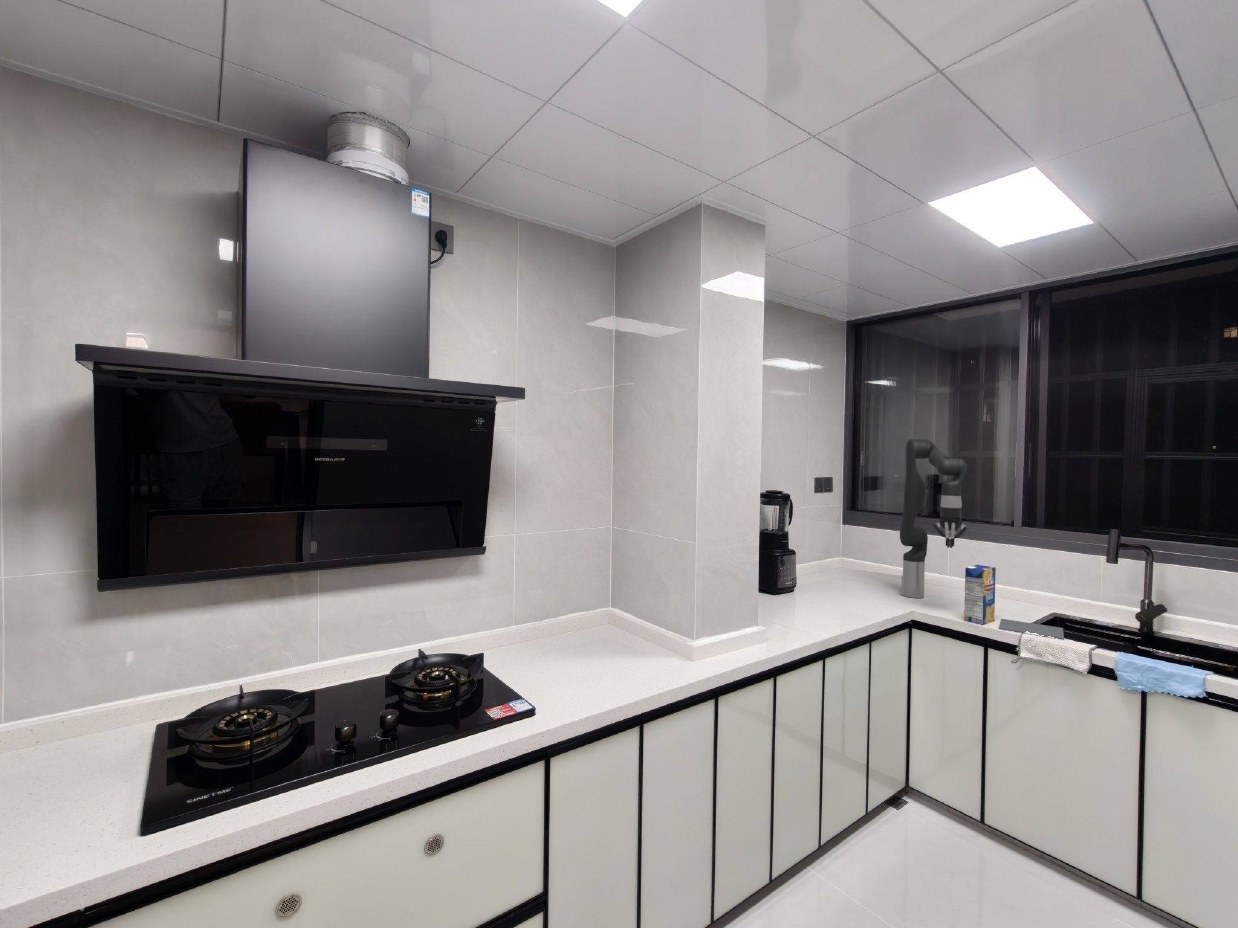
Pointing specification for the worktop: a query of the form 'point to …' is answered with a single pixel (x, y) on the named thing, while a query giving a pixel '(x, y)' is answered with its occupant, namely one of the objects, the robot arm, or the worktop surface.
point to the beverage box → (979, 594)
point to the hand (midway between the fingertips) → (949, 547)
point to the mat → (1031, 628)
